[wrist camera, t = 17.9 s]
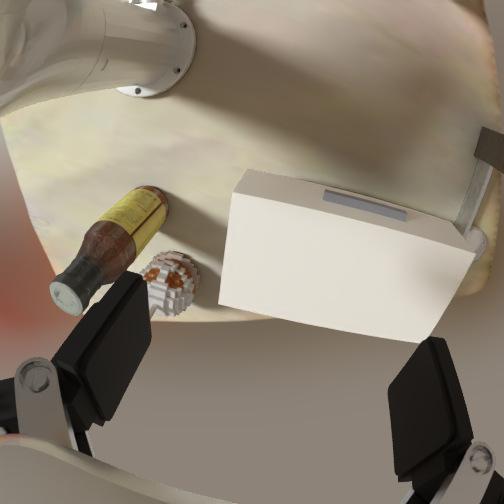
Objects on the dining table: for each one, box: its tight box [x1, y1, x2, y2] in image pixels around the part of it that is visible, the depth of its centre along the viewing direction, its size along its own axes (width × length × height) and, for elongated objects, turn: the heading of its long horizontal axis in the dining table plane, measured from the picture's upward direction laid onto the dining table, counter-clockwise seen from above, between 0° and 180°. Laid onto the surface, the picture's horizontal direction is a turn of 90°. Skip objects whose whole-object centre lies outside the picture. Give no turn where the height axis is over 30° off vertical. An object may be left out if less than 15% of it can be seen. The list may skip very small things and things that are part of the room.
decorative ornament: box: [140, 251, 200, 319], centre depth 39 cm, size 8×8×15 cm
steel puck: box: [465, 225, 486, 262], centre depth 34 cm, size 5×5×2 cm
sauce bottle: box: [50, 186, 168, 316], centre depth 32 cm, size 7×6×20 cm
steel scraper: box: [454, 127, 504, 239], centre depth 29 cm, size 18×2×8 cm, turn 171°
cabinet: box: [218, 169, 476, 343], centre depth 32 cm, size 13×23×12 cm, turn 81°
